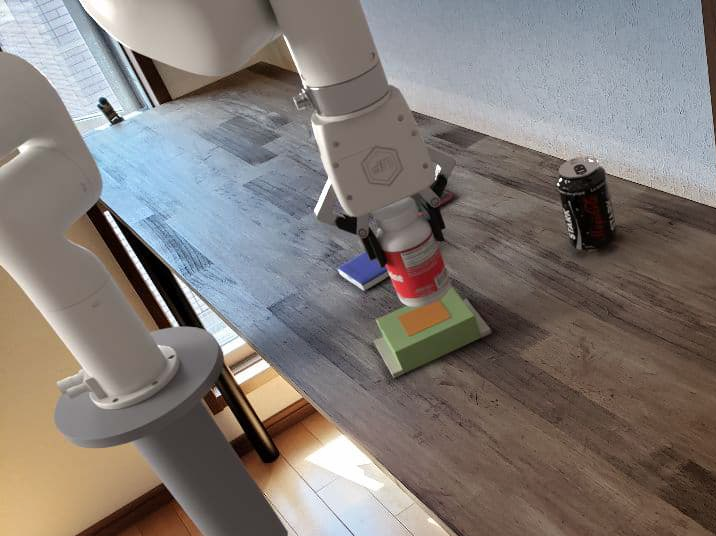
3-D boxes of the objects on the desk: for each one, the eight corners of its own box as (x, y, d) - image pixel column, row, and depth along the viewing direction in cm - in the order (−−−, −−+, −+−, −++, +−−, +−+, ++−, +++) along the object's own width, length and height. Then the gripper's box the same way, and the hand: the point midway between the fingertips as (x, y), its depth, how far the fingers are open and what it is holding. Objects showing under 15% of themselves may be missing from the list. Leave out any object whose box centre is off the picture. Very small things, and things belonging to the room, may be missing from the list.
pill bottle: (395, 289, 97) (361, 205, 90) (444, 270, 98) (414, 185, 91) (406, 316, 93) (371, 229, 86) (457, 296, 93) (427, 208, 86)
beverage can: (578, 261, 118) (560, 184, 110) (566, 239, 123) (548, 164, 115) (624, 246, 118) (610, 168, 110) (610, 224, 123) (595, 149, 115)
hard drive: (401, 228, 134) (336, 266, 129) (428, 243, 128) (361, 283, 124) (405, 236, 135) (340, 275, 130) (432, 251, 129) (365, 292, 125)
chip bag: (394, 378, 107) (384, 356, 105) (375, 344, 114) (365, 323, 112) (491, 333, 110) (484, 310, 107) (467, 302, 116) (460, 280, 114)
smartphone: (419, 214, 138) (379, 192, 147) (420, 217, 138) (380, 195, 148) (453, 194, 140) (412, 174, 150) (454, 198, 141) (413, 177, 150)
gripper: (270, 135, 76) (344, 296, 87) (443, 66, 79) (493, 231, 90) (256, 112, 81) (328, 267, 93) (419, 48, 84) (468, 206, 96)
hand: (409, 248), depth 91 cm, fingers closed on pill bottle, 6 cm apart
